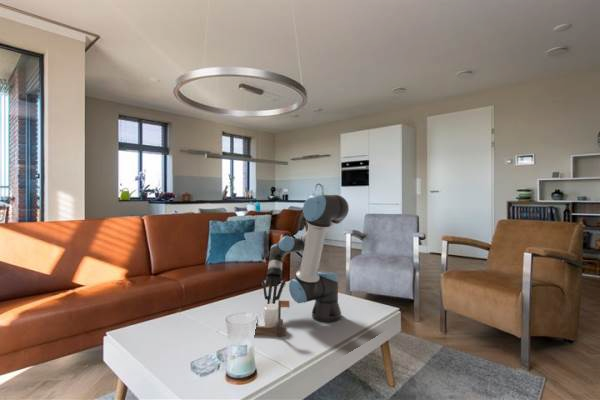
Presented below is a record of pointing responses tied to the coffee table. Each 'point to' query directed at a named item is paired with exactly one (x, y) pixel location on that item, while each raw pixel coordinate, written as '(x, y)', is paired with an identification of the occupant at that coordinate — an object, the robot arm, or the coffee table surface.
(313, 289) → the robot arm
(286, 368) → the coffee table surface
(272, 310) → the white cup
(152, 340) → the coffee table surface
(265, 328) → the wooden cup stand
